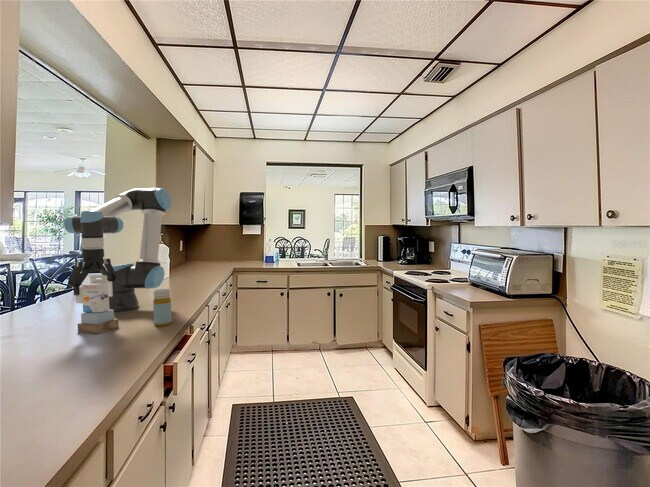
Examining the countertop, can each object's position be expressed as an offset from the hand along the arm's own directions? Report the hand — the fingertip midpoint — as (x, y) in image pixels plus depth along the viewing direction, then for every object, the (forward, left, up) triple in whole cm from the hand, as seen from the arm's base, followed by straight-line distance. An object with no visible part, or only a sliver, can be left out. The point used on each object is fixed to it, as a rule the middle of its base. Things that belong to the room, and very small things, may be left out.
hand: (95, 299), depth 140 cm
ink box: (-1, 0, -5) cm, 5 cm away
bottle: (-14, +21, -13) cm, 28 cm away
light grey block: (0, +1, -9) cm, 9 cm away
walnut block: (0, +1, -13) cm, 13 cm away
